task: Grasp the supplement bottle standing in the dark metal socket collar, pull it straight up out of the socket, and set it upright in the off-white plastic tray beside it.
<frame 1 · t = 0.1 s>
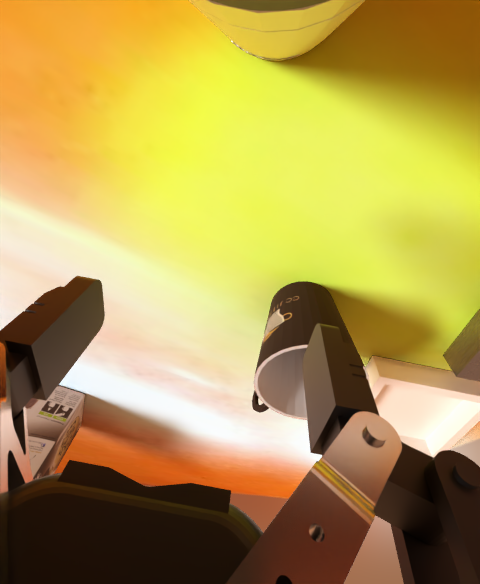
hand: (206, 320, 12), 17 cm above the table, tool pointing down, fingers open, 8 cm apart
coffee mug: (288, 311, 33), on the table
coffee box: (64, 403, 46), on the table
tray: (402, 401, 38), on the table
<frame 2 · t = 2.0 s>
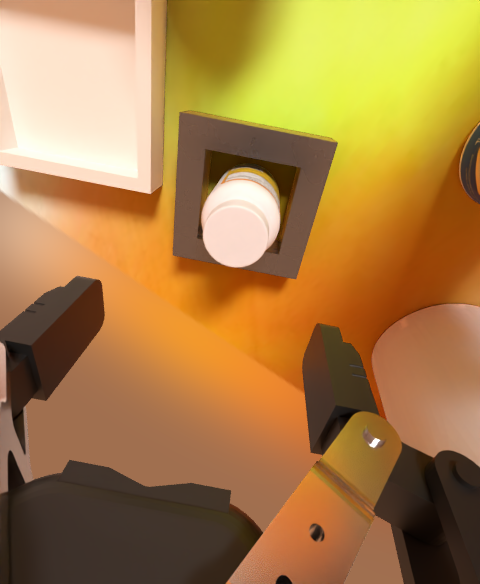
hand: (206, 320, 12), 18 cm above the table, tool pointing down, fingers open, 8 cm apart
socket collar: (248, 195, 27), on the table
utensil holder: (433, 353, 34), on the table
supplement bottle: (248, 194, 27), resting in socket collar
tray: (80, 81, 23), on the table
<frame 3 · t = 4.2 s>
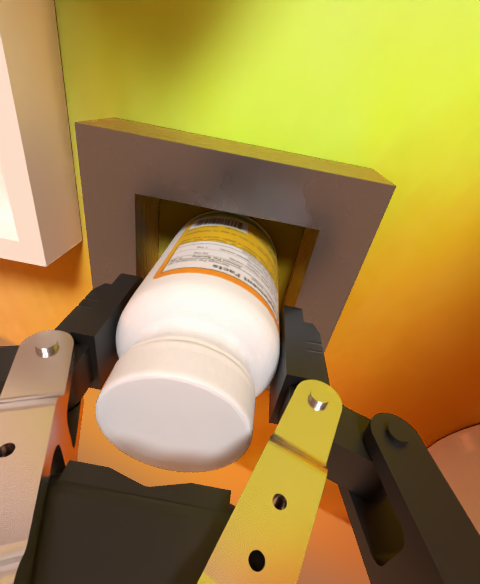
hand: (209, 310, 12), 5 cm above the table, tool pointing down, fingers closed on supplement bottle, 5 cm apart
socket collar: (225, 259, 16), on the table
supplement bottle: (225, 257, 16), resting in socket collar, touching gripper
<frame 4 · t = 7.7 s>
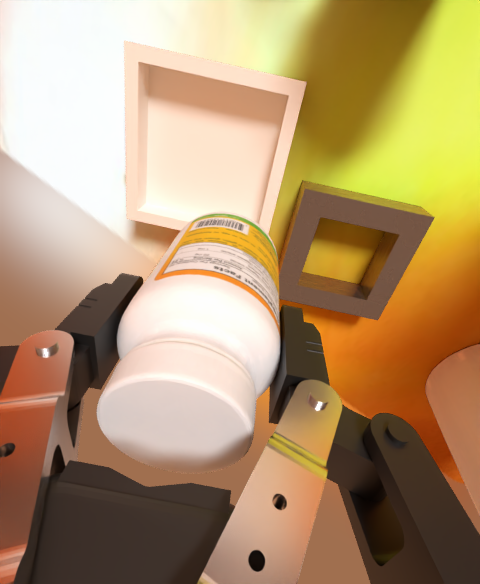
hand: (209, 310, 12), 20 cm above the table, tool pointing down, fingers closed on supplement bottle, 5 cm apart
socket collar: (339, 248, 31), on the table
supplement bottle: (226, 258, 16), point 15 cm above the table, touching gripper
tray: (211, 154, 27), on the table
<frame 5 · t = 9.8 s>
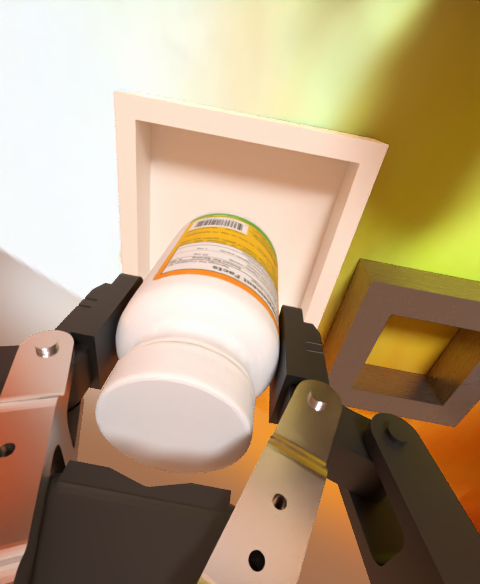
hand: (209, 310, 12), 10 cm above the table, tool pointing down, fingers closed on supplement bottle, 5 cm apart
socket collar: (403, 335, 24), on the table
supplement bottle: (225, 258, 16), point 5 cm above the table, touching gripper
tray: (236, 227, 20), on the table
when the fingers open (7 cm above the table, at t = 11.3 s): supplement bottle drops 1 cm, resting on tray.
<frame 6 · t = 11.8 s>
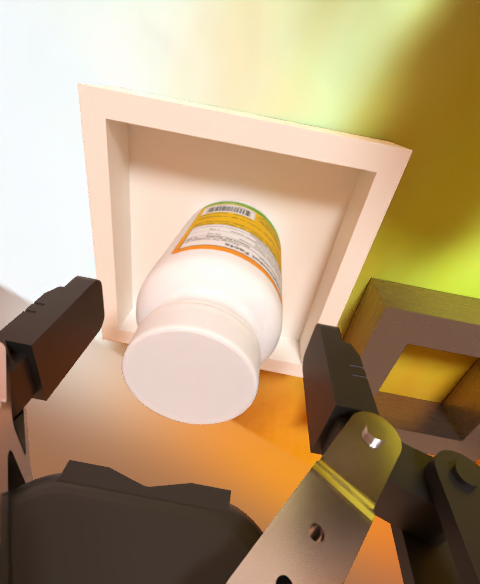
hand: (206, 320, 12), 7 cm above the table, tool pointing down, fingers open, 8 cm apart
socket collar: (418, 361, 21), on the table
supplement bottle: (232, 245, 17), point 1 cm above the table, touching tray
tray: (230, 242, 18), on the table
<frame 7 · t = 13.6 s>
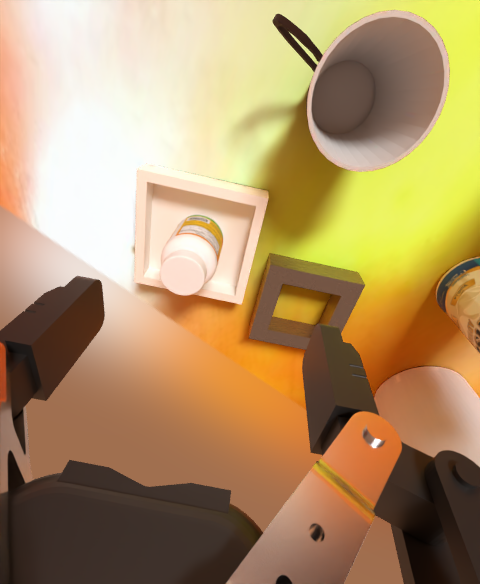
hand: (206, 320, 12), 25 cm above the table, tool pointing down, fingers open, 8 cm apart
coffee mug: (335, 82, 28), on the table
socket collar: (300, 299, 40), on the table
beverage bottle: (469, 284, 37), on the table
utensil holder: (416, 395, 48), on the table
supplement bottle: (200, 235, 35), point 1 cm above the table, touching tray
tray: (200, 234, 36), on the table
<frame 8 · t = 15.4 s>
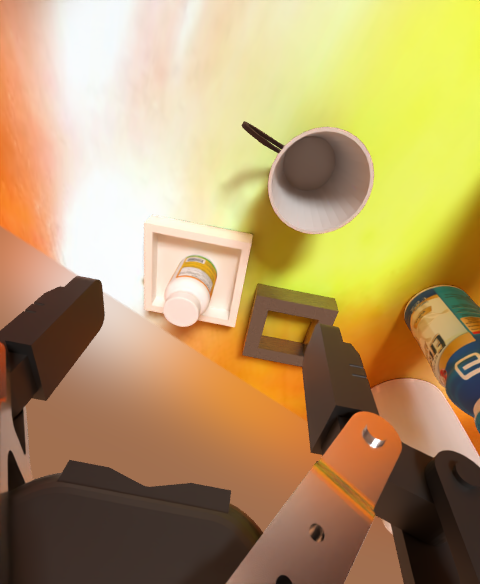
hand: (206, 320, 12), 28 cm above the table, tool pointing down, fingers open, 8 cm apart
coffee mug: (302, 150, 34), on the table
socket collar: (286, 321, 46), on the table
beverage bottle: (433, 307, 43), on the table
utensil holder: (398, 404, 53), on the table
supplement bottle: (198, 270, 42), point 1 cm above the table, touching tray
tray: (198, 268, 43), on the table
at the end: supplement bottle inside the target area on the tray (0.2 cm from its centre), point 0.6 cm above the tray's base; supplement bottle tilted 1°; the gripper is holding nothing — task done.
